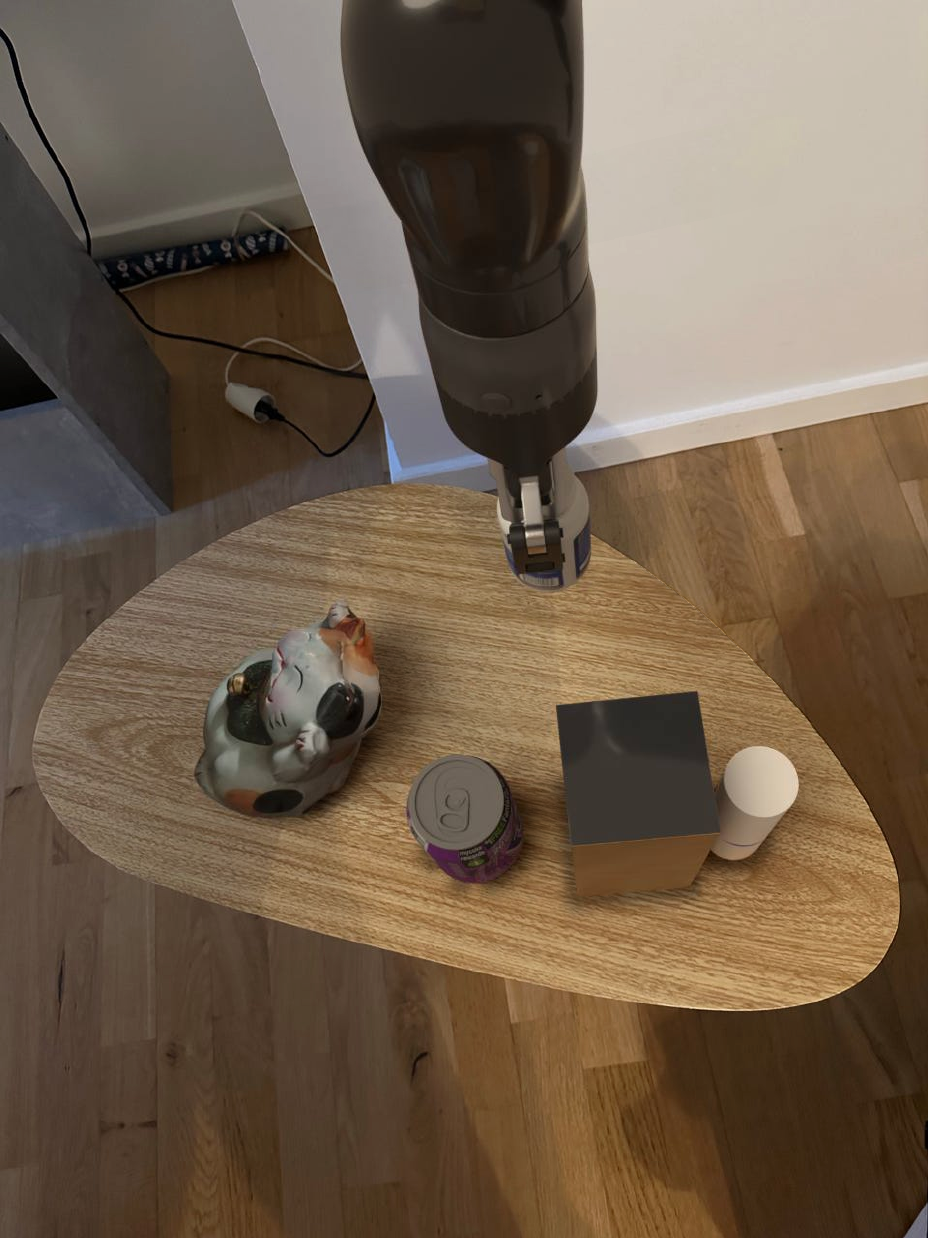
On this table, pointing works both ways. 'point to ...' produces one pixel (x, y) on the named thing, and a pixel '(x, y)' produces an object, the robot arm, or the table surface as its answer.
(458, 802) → the beverage can
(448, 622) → the table surface
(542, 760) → the table surface
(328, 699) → the lucky cat figurine
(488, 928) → the table surface
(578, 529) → the pill bottle
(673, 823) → the slate coaster
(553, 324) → the robot arm
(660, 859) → the walnut plinth
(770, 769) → the tube
